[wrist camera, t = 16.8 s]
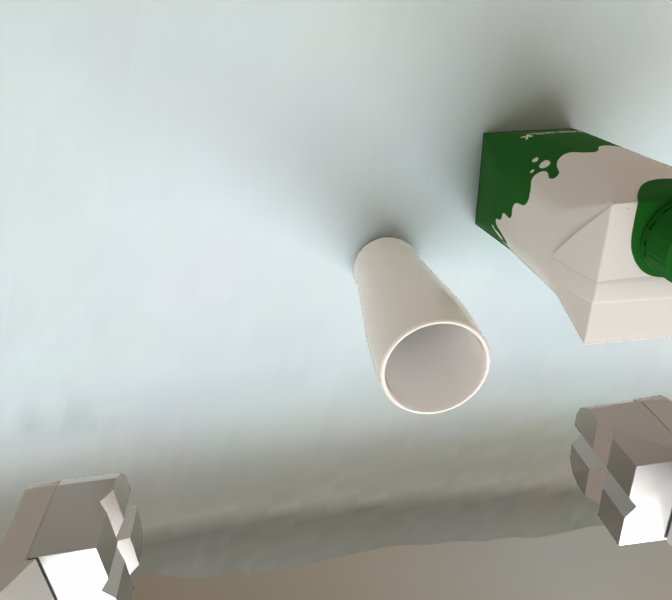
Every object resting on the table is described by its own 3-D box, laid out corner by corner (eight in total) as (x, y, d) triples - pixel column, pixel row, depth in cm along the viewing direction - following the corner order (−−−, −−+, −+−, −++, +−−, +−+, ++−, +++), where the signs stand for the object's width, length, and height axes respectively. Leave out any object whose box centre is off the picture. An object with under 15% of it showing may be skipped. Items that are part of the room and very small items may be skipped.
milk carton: (585, 114, 43) (815, 193, 25) (566, 229, 47) (752, 365, 30) (471, 120, 42) (627, 206, 25) (462, 237, 46) (590, 381, 29)
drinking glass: (332, 293, 47) (363, 407, 34) (357, 216, 44) (401, 307, 31) (409, 309, 49) (467, 424, 36) (437, 236, 46) (511, 330, 33)
